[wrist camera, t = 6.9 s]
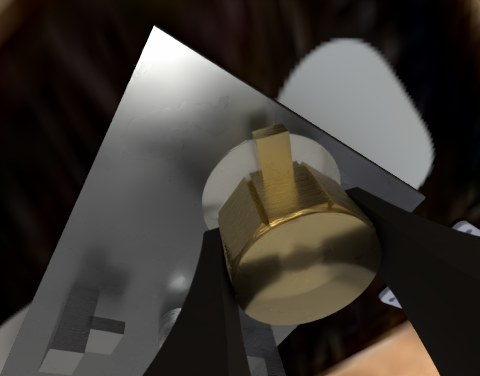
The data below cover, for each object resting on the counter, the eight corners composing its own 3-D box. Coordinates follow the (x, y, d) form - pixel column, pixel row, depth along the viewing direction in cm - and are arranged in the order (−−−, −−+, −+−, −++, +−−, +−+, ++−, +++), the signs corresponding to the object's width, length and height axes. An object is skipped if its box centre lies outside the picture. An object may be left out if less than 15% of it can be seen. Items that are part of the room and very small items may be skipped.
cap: (338, 267, 16) (374, 325, 13) (240, 295, 16) (256, 360, 13) (336, 108, 11) (393, 147, 8) (194, 145, 11) (203, 199, 8)
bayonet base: (414, 188, 18) (474, 236, 14) (222, 385, 26) (230, 448, 22) (155, 24, 11) (146, 36, 7) (7, 359, 19) (-32, 443, 15)
